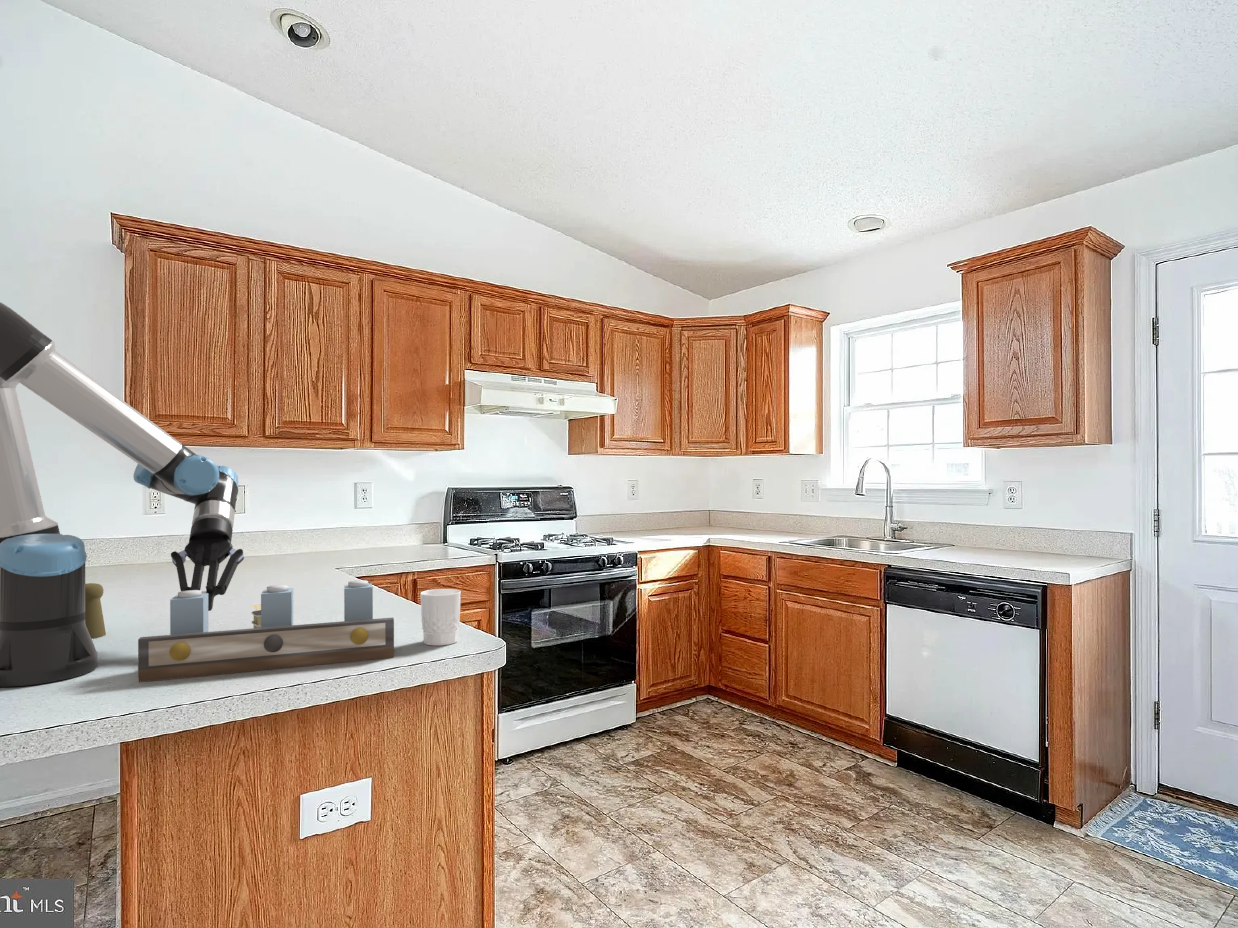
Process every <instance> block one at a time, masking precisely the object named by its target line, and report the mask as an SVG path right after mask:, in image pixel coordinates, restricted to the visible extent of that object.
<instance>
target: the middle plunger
mask: <svg viewBox="0 0 1238 928" xmlns="http://www.w3.org/2000/svg"><path fill="white" fill-rule="evenodd" d="M260 604H261V609H260V610H261V628H265V627H278V626H290V625H294V588H293V587H289V585H288V584H276V585H269V586H267V587H266V589H263V590H262V592H261V593H260Z"/></svg>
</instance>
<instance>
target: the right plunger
mask: <svg viewBox="0 0 1238 928" xmlns="http://www.w3.org/2000/svg"><path fill="white" fill-rule="evenodd" d="M343 585H344V587H343V597H344V599H343V604H344V605H343V607H344V611H343V617H344V618H343V619H344V620H343V621H354V620H367V619H374V614H373V613H374V611H373V610H374V609H373V608H374V606H373V605H374V604H373V601H374V596H373V595H374V594H373V591H374V589H373V588H374V587H373V585H372V582H370V583H369V581H368V580H363V579H361V580H358V579H357V580H350V581H348V583H347V584H343Z"/></svg>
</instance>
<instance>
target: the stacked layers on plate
mask: <svg viewBox="0 0 1238 928" xmlns="http://www.w3.org/2000/svg"><path fill="white" fill-rule="evenodd" d="M251 607H252V608H253V609H255V610H253V611H251V615H253V620H252V621H251V624H252V625H253V628H261V603H260V604H253V605H251Z"/></svg>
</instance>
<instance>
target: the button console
mask: <svg viewBox="0 0 1238 928" xmlns="http://www.w3.org/2000/svg"><path fill="white" fill-rule="evenodd" d="M137 643H138V644H137V653H138V654H137V656H138V657H137V667H138V668H137V671H138V672H137V678H138V679H137V681H138V683H142V682H143V683H144V682H155V681H164V680H173V679H175V680H176V679H185V678H196V677H197V678H198V677H207V676H216V675H217V676H218V675H226V674H237V673H248V672H258V671H268V669H269V670H277V669H287V668H289V667H290V668H297V667H298V666H300V667H307V665H310V666H317V665H318V666H319V665H328V664H339V663H341V664H342V663H350V662H351V663H352V662H358V661H359V662H360V661H369V660H380V659H389V658H395V619H394V617H383V618H373V619H367V620H354V621H344V620H343V621H330V622H329V621H328V622H320V623H304V624H293V625H290V626H278V627H265V628H254V627H252V628H242V629H241V628H239V629H228V630H215V631H208V632H201V633H188V634H175V635H170V634H164V635H151V636H141V637H139V638H138V639H137Z"/></svg>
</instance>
